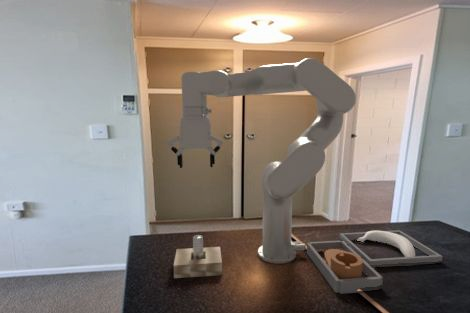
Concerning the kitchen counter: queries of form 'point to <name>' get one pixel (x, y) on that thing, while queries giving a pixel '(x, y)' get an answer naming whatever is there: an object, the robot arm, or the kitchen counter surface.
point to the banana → (390, 241)
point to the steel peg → (198, 247)
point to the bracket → (344, 263)
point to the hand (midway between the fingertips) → (196, 166)
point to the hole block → (197, 263)
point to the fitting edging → (335, 283)
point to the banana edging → (431, 258)
